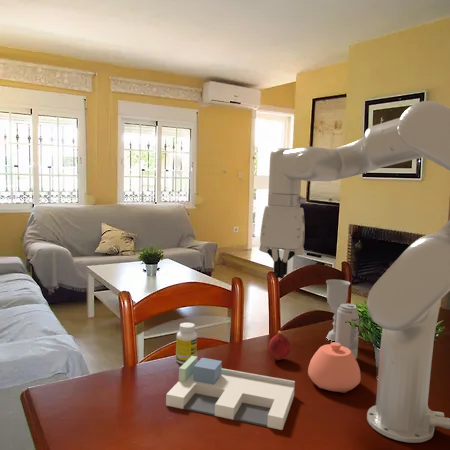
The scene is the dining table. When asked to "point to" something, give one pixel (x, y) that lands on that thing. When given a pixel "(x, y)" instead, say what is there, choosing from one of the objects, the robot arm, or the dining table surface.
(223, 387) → the box
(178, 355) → the supplement bottle
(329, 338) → the chalice
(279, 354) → the onion
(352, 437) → the dining table surface
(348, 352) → the sugar bowl
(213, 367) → the block
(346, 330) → the energy drink can
